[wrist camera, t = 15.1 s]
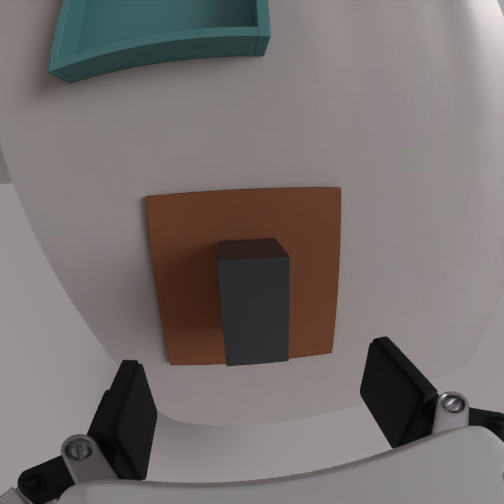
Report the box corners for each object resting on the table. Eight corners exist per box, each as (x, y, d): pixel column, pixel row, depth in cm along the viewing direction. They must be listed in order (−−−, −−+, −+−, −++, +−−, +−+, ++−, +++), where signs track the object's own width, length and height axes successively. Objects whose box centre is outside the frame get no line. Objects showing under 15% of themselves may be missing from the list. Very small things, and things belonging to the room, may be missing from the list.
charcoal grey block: (225, 328, 22) (226, 366, 17) (219, 240, 20) (216, 260, 16) (276, 324, 23) (288, 361, 18) (275, 237, 21) (290, 256, 16)
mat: (171, 362, 23) (170, 365, 23) (147, 196, 20) (145, 196, 19) (330, 350, 24) (332, 353, 24) (338, 187, 21) (341, 187, 20)
